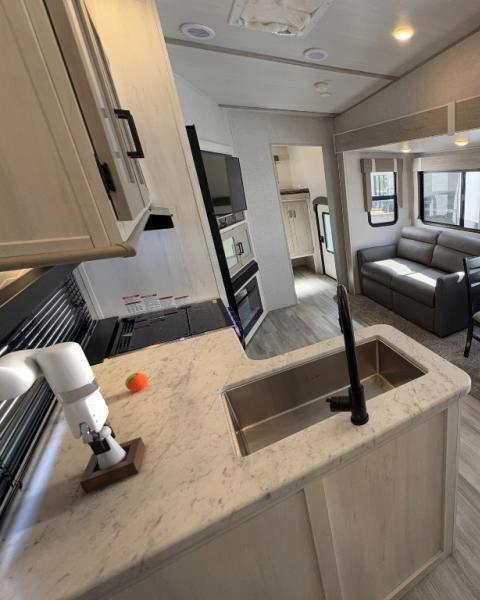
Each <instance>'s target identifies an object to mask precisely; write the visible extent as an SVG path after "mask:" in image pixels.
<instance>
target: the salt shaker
mask: <svg viewBox="0 0 480 600" xmlns="http://www.w3.org/2000/svg"><path fill="white" fill-rule="evenodd" d="M92 431H94V430H92ZM101 432H102V435H103V438H106V439H107V441H108V443H109V445H110V447H111V450H110V451H108V452H105V453H102V454H99V455H97V457H98V463H99V468H100V469H101V470H102V469H105V468H108V467H110V466H113V465H116V464H118V463H121V462H124V461H126V459H127V453H126V452H125V451H124V450H123V449H122V448H121V447H120V446H119V444H120V443H118V442H117V441H116V440H115V439H113V438H112V437H111V435H110V434H111V429H110V428H109V426H103V427H102V429H101ZM91 436H92V437H94V436H97V433H95V434H92V435H91Z"/></svg>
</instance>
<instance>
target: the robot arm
mask: <svg viewBox="0 0 480 600" xmlns="http://www.w3.org/2000/svg"><path fill="white" fill-rule="evenodd" d="M42 377H44V378H45V379H46V381H47V384H48V385H49V387H50V389H51V390H52V392H53V394H54V396H55V398H56V400H57V402H58V404H59V405H61V407H62V411H63V415H64V418H65V421H66V423H67V425H68V428H69V430H70V432H71V434H72V436H73V438H74V439H75V440H79V439H81V438H82V444H84V445H88V446H89V448H90V449H91V450H92V454H93V453H94V455H99V454H102V453H105V452H108V451H110V450H111V447H110V445H109V443H108V441H107V439H106V438H103V435H102V432H101V429H102V427H103V426H108V427H109V428H110V429H111V434H110V435H111V437H112V438H113V439H114V440H115V439H116V434H115V432H114V429H113V428H112V425H111V422H110V421H109V419H108V416H109V412H110V411H109V406H108V405H107V402H106V400H105V399H104V397H103V395H102V393H101V392H100V389H101V387H100V385H99V382H98V380H97V378H96V376H95V374H94V372H93V370H92V368H91V365H90V363H89V361H88V359H87V357H86V355H85V353H84V350H83V349H82V347H81V345H80V344H79V343H77V342H74V341H66V342H60V343H56V344H52V345H50V346H46V347H39V348H32V349H30V348H29V349H22V350H21V349H20V350H17V351H12V352H8V353H6V354H5V355H3V356H2V357H0V402H1V401H2V402H3V401H9V400H13V399H15V398H18V397H20V396H22V395H23V394H25V393H27V391H29V389H31V387H32V386H33V384H35V382H36V381H37V380H38V379H40V378H42ZM93 430H94V431H93ZM95 433H97V436H94V437H92V436H91V435H92V434H95Z"/></svg>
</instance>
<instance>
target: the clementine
mask: <svg viewBox="0 0 480 600" xmlns="http://www.w3.org/2000/svg"><path fill="white" fill-rule="evenodd" d="M124 384H125V385H124V386H125V387H126V388H127V390H129V391H131V392H138V391H141V390H144V389H145V388H146V387H147V385H148V384H149V377H148V376H147V375H146V374H144V373H143V372H136V373H132V374H130V375H128V377H127V378H126V379H125V382H124Z"/></svg>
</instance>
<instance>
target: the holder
mask: <svg viewBox="0 0 480 600" xmlns="http://www.w3.org/2000/svg"><path fill="white" fill-rule="evenodd" d="M118 444H119V446H120V447H121V448H122V449H123V450H124V451H125V452H126V453H127V459H126V461H124V462H121V463H118V464H116V465H113V466H110V467H108V468H105V469H102V470H101V469H100V468H99V463H98V457H97V455H94V453H93V452H92V454H91V456H90V458H89V460H88V463H87V464H86V467H85V470H84V471H83V474H82V476H81V478H80V480H79V485H80V487H81V489H82V490H83V492H84V493H85V495H87V494H88V493H92V492H94V491H96V490H99V489H102V488H104V487H106V486H110V485H112V484H115V483H117V482H120V481H123V480H125V479H128V478H130V477H133V476H136V475H137V474H140V469H141V465H142V462H143V457H144V454H145V450H146V445H145V443H144V441H143V438H142V436H139V437H136V438H133V439H131V440H128V441H125V442H122V443H118Z"/></svg>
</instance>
